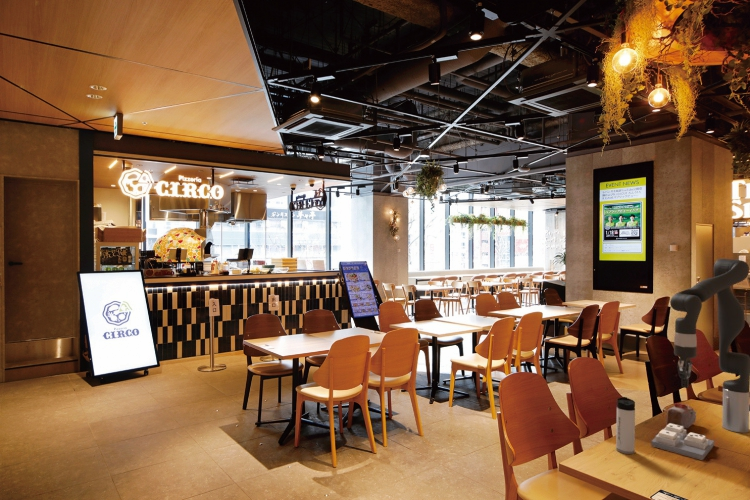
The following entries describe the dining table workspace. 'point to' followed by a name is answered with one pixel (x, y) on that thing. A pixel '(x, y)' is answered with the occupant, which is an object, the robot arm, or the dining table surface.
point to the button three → (696, 437)
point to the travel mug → (625, 426)
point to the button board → (683, 445)
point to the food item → (681, 415)
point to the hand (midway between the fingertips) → (684, 387)
